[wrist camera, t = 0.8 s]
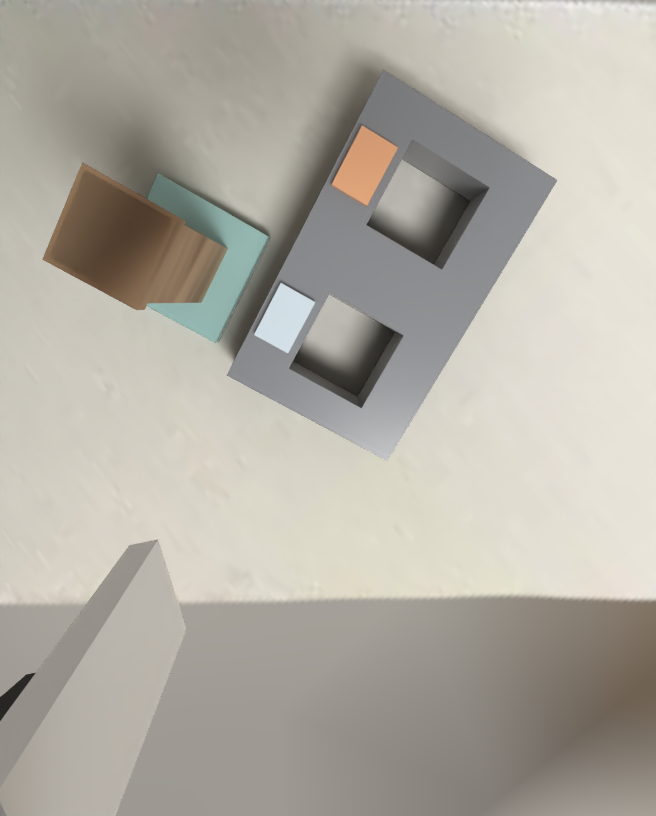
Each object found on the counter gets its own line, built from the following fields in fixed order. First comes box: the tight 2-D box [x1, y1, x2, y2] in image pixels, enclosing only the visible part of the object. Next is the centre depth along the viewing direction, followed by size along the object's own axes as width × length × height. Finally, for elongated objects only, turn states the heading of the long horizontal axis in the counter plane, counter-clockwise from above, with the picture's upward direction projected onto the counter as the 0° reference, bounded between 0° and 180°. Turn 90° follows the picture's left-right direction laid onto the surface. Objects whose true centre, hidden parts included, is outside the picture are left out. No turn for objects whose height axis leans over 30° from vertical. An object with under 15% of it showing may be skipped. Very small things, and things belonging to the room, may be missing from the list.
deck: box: [146, 173, 270, 343], centre depth 33 cm, size 8×8×1 cm
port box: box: [227, 70, 557, 460], centre depth 32 cm, size 12×20×4 cm, turn 151°
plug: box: [42, 163, 227, 310], centre depth 27 cm, size 4×4×12 cm
